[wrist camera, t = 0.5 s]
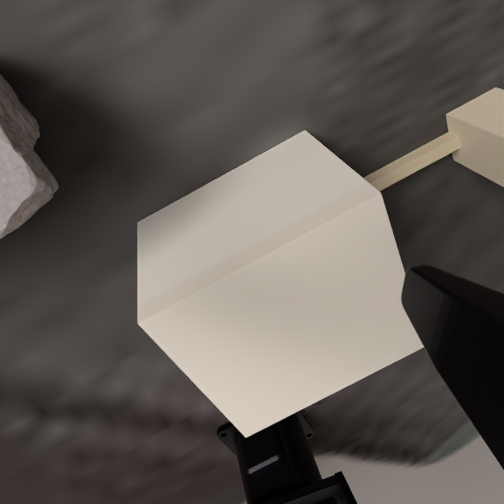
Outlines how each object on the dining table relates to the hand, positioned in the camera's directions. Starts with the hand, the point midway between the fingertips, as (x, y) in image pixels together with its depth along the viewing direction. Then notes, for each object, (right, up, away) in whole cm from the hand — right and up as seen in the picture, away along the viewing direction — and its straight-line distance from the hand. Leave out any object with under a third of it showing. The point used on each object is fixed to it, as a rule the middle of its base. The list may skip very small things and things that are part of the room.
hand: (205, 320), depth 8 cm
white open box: (+1, +2, +16) cm, 16 cm away
